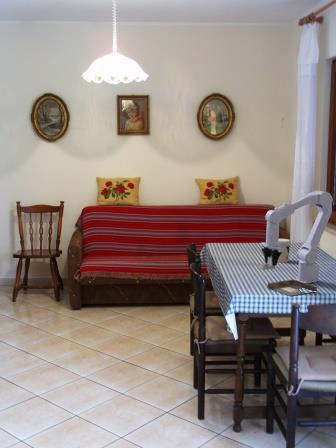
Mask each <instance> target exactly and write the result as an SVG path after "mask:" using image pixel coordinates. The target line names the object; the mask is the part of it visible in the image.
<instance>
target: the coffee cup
mask: <svg viewBox="0 0 336 448" xmlns="http://www.w3.org/2000/svg"><path fill="white" fill-rule="evenodd" d="M278 245H279V246H280V247H282V248H283V252H282V254H281V255H280V257H279V259H278V262H277V263H288V262H289V258H290V257H289V256H290V248H291V240H290V239H288V238H279V239H278Z"/></svg>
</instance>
